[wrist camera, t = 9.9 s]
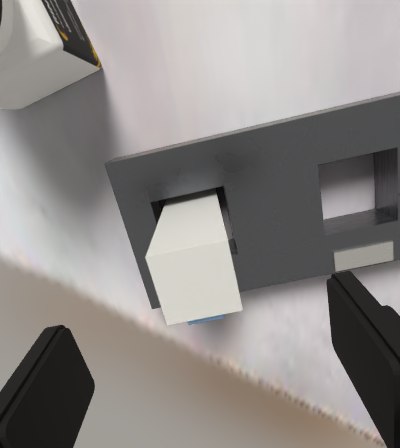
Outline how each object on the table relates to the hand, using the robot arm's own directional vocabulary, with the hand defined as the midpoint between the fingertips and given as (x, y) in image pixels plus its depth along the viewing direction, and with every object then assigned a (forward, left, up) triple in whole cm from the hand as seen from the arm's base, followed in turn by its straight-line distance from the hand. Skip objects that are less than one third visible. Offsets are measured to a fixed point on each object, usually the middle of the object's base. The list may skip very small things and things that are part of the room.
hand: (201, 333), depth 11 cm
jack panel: (-6, +1, -15) cm, 16 cm away
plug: (0, +1, -15) cm, 15 cm away
